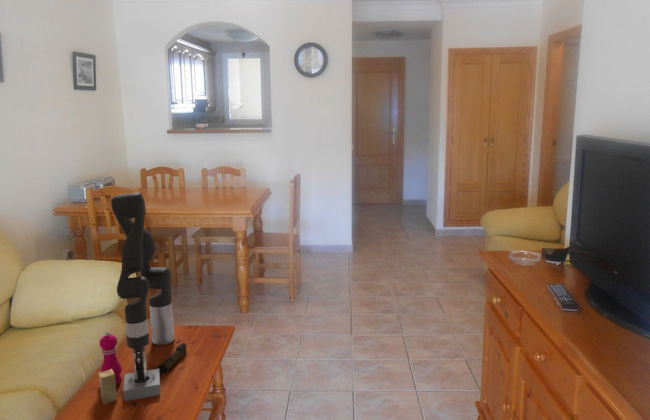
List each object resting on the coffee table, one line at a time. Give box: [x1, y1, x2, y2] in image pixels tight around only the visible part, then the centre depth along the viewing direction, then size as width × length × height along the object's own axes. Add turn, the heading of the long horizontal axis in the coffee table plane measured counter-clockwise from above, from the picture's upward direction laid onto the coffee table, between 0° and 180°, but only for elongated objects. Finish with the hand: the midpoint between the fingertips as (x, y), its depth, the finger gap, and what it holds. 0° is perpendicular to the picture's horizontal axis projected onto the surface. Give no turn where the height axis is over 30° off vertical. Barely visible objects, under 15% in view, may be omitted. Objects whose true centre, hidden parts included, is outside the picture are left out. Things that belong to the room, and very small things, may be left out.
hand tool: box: [157, 342, 187, 374], centre depth 201 cm, size 19×4×5 cm, turn 165°
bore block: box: [122, 368, 161, 402], centre depth 182 cm, size 12×12×4 cm
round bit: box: [133, 356, 148, 383], centre depth 181 cm, size 4×4×10 cm
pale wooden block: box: [98, 369, 118, 405], centre depth 175 cm, size 4×4×10 cm
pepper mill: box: [99, 331, 123, 385], centre depth 185 cm, size 7×7×20 cm
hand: (141, 376), depth 181 cm, fingers closed on round bit, 4 cm apart
